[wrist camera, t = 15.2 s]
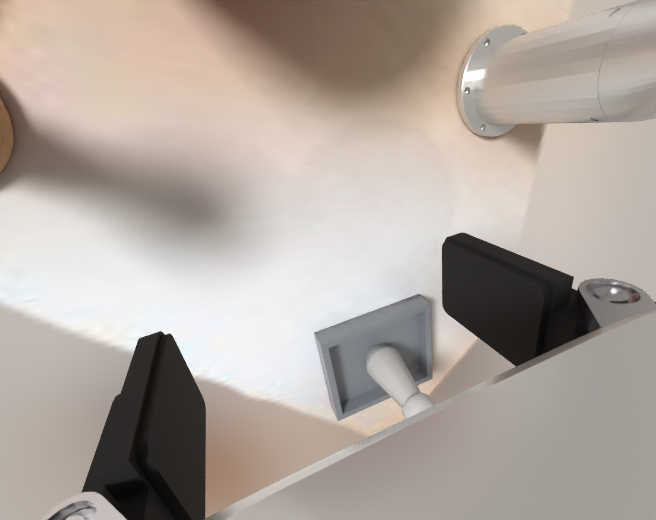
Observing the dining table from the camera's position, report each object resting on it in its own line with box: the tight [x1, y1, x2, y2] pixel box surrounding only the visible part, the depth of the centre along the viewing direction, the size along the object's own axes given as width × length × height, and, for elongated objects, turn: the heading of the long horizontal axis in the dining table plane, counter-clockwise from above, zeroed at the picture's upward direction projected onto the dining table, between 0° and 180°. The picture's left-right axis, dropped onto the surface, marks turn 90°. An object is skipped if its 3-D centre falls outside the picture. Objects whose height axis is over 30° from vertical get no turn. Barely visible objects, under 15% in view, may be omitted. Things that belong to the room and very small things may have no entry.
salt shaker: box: [365, 343, 435, 419], centre depth 45 cm, size 6×6×13 cm
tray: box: [314, 294, 432, 421], centre depth 50 cm, size 18×16×3 cm
